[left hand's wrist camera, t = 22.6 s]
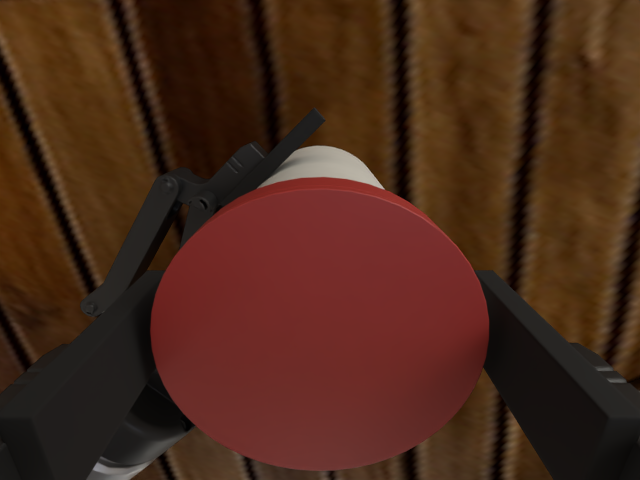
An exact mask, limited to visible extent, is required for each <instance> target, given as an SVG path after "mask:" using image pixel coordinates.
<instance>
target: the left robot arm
mask: <svg viewBox="0 0 640 480" xmlns="http://www.w3.org/2000/svg"><path fill="white" fill-rule="evenodd" d="M164 272H165V271H146V272H145V273H144V274H143V275H142V276H141V277H140V278H139V279H138V280H137V281H136V282H135V283H134V284H133V285H132V286H131V287H129V288H128V289H127V290H126V291H125V292H124V293H123V294H122V295H121V296H120V297H119V298H118V299H117V300H116V301H115V302H114V303H113V304H112V305H111V306H109V307H108V308H107V309H106V310H105V311H104V312H103V313H102V314H101V315H100V316H99V317H98V318H97V319H96V320H95V321H94V322H93V323H92V324H91V325H89V326H88V327H87V328H86V329H85V330H84V331H83V332H82V333H81V334H80V335H79V336H78V337H77V338H76V339H75V340H74V341H73V342H72V343H71V344H62V345H60V346H59V347H57V348H55V349H53V350H52V351H50V352H48V353H47V354H45V355H43V356H42V357H41V358H40V359H39V360H37V361H36V362H35V363H34V364H33V365H32V366H31V367H30V368H29V369H27V372H24V373H23V374H22V375H21V376H20V377H18V378H17V379H16V380H15V381H14V384H11V385H10V386H8V387H7V388H6V389H5V390H4V391H3V392H2V393H1V394H0V480H86V479H87V478H88V476H89V475H90V473H91V471H92V470H93V468H94V467H95V465H96V463H97V462H98V460H99V459H100V457H101V455H102V454H103V452H104V451H105V449H106V447H107V446H108V444H109V443H110V441H111V439H112V438H113V436H114V435H115V433H116V431H117V430H118V428H119V427H120V425H121V423H122V422H123V420H124V419H125V417H126V415H127V414H128V412H129V411H130V409H131V407H132V406H133V404H134V403H135V401H136V400H137V398H138V396H139V395H140V393H141V392H142V390H143V388H144V387H145V385H146V384H147V382H148V380H149V379H150V377H151V376H152V374H153V372H154V371H155V369H156V364H155V360H154V356H153V352H152V346H151V335H150V326H151V311H152V307H153V303H154V299H155V294H156V291H157V289H158V286H159V284H160V281H161V279H162V277H163V274H164ZM474 272H475V274H476V276H477V278H478V280H479V282H480V285H481V288H482V291H483V294H484V297H485V300H486V305H487V311H488V317H489V342H488V348H487V354H486V359H485V362H484V365H483V368H484V369H485V371H486V372H487V374H488V376H489V377H490V379H491V380H492V382H493V384H494V385H495V387H496V388H497V390H498V392H499V393H500V395H501V396H502V398H503V400H504V401H505V403H506V404H507V406H508V407H509V409H510V411H511V412H512V414H513V415H514V417H515V419H516V420H517V422H518V423H519V425H520V427H521V428H522V430H523V431H524V433H525V435H526V436H527V438H528V439H529V441H530V443H531V444H532V446H533V447H534V449H535V451H536V452H537V454H538V455H539V457H540V459H541V460H542V462H543V463H544V465H545V467H546V468H547V470H548V471H549V473H550V475H551V476H552V478H553V479H554V480H640V379H638V380H635V381H633V382H631V383H627V382H626V379H625V378H623V377H622V376H621V375H620V374H619V373H618V372H617V371H614V370H613V368H612V367H611V366H610V365H609V364H608V363H607V362H606V361H604V360H603V359H602V358H601V357H600V356H599V355H598V354H596V353H594V352H592V351H591V350H589V349H587V348H586V347H584V346H582V345H580V344H579V343H568V342H567V341H566V340H565V339H564V338H563V337H562V336H561V335H560V334H559V333H558V332H557V331H556V330H555V329H554V328H553V327H552V326H551V325H549V324H548V323H547V322H546V321H545V320H544V319H543V318H542V317H541V316H540V315H539V314H538V313H537V312H536V311H535V310H534V309H533V308H532V307H531V306H529V305H528V304H527V303H526V302H525V301H524V300H523V299H522V298H521V297H520V296H519V295H518V294H517V293H516V292H515V291H514V290H513V289H512V288H511V287H509V286H508V285H507V284H506V283H505V282H504V281H503V280H502V279H501V278H500V277H499V276H498V275H497V274H496V273H495V272H494V271H474Z"/></svg>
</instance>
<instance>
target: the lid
mask: <svg viewBox="0 0 640 480" xmlns="http://www.w3.org/2000/svg"><path fill="white" fill-rule="evenodd" d="M150 335H151V346H152V352H153V356H154V360H155V364H156V368H157V370H158V373H159V375H160V377H161V380H162V382H163V384H164V386H165V388H166V390H167V391H168V393H169V395H170V396H171V398H172V400H173V401H174V402H175V403H176V405H177V406H178V407H179V409H180V410H181V411H182V412H183V414H184V415H185V416H186V417H187V418H188V419H189V420H190V421H191V422H192V423H193V424H194V425H195V426H196V427H198V428H199V429H200V430H202V431H203V432H204V433H205V434H207V435H208V436H209V437H210V438H212V439H214V440H215V441H217V442H218V443H220V444H222V445H223V446H225V447H227V448H229V449H231V450H233V451H235V452H237V453H239V454H241V455H243V456H246V457H249V458H251V459H254V460H257V461H260V462H263V463H267V464H271V465H275V466H279V467H285V468H291V469H298V470H313V471H323V470H340V469H349V468H355V467H360V466H365V465H369V464H373V463H376V462H379V461H383V460H386V459H389V458H391V457H394V456H396V455H398V454H400V453H403V452H405V451H407V450H409V449H411V448H413V447H414V446H416V445H418V444H420V443H421V442H423V441H424V440H426V439H427V438H429V437H430V436H431V435H433V434H434V433H436V432H437V431H438V430H439V429H440V428H442V427H443V426H444V425H445V424H446V423H447V422H448V421H449V420H450V419H451V418H452V417H453V416H454V415H455V414H456V413H457V412H458V410H459V409H460V408H461V407H462V406H463V404H464V403H465V401H466V400H467V398H468V397H469V395H470V394H471V392H472V391H473V389H474V387H475V385H476V383H477V381H478V379H479V377H480V375H481V371H482V368H483V365H484V362H485V359H486V354H487V348H488V342H489V317H488V311H487V305H486V300H485V297H484V294H483V291H482V288H481V285H480V282H479V280H478V278H477V276H476V274H475V272H474V270H473V268H472V267H471V265H470V263H469V262H468V260H467V259H466V258H465V256H464V255H463V254H462V252H461V251H460V250H459V248H458V247H457V246H456V245H455V244H454V243H453V242H452V241H451V240H450V239H449V238H448V236H447V235H446V234H445V233H444V232H443V231H442V230H441V229H440V228H439V227H438V226H437V225H436V224H435V223H434V222H433V221H432V220H431V219H430V218H429V217H428V216H427V215H425V214H424V213H423V212H422V211H420V210H419V209H417V208H416V207H415V206H413V205H412V204H411V203H409V202H408V201H406V200H404V199H402V198H400V197H399V196H397V195H395V194H393V193H391V192H389V191H386V190H384V189H381V188H378V187H376V186H373V185H370V184H367V183H363V182H358V181H354V180H349V179H342V178H331V177H308V178H297V179H291V180H286V181H280V182H276V183H273V184H270V185H267V186H264V187H260V188H258V189H255V190H253V191H251V192H249V193H247V194H245V195H243V196H240V197H238V198H237V199H235V200H234V201H232V202H231V203H229V204H228V205H226V206H225V207H223V208H221V209H220V210H219V211H218V212H217V213H216V214H214V215H213V216H212V217H211V218H210V219H209V220H208V221H206V222H205V223H204V224H203V225H202V226H201V227H200V228H199V229H198V230H197V231H196V232H195V234H194V235H193V236H192V237H191V238H190V239H189V240H188V241H187V242H186V243H185V244H184V246H183V247H182V248H181V249H180V250H179V251H178V253H177V254H176V255H175V256H174V258H173V259H172V261H171V263H170V264H169V266H168V268H167V269H166V271H165V272H164V274H163V277H162V279H161V281H160V284H159V286H158V289H157V291H156V294H155V299H154V303H153V307H152V311H151V326H150Z"/></svg>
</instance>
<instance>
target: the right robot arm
mask: <svg viewBox="0 0 640 480" xmlns="http://www.w3.org/2000/svg"><path fill="white" fill-rule="evenodd" d="M323 122H325V118H324V117H323V116H322V115H321V114H320V113H319V112H318V111H317V109H316V108H313V109H312V110H311V111H310V112H309V113H308V114H307V116H306V117H305V118H304V119H303V120H302V121H301V122H300V123H299V124H298V125H297V126H296V127H295V128H294V129H293V130H292V131H291V132H290V133H289V134H288V135H287V136H286V137H285V138H284V139H283V140H282V141H281V142H280V143H279V144H278V145H277V146H276V147H275V148H274V149H273V150H272V151H271V152H270V153H269V154H268V153H267V152H266V151H265V150H264V149H263V148H262V147H261V146H260V145H259V144H258V143H257V142H256V141H254V142H251V143H249V144H247V145H244V146H243V147H241V148H240V149H239V150H238V151H237V152H236V153H235V154H234V155H233V156H232V157H231V158H230V159H229V160H228V161H227V162H226V163H225V164H224V165H223V166H222V167H221V169H220V170H219V171H218V172H217V173H216V174H215V175H214V176H213V177H212V178H211V179H203V178H201V177H198V176H196V175H194V174H193V173H192V171H191V170H189V169H188V168H185V167H180V168H178V169H175V170H173V171H170V172H168V173H166V174H164V175H162V176H159V177H158V178H157V179H156V180H155V182H154V184H153V186H152V188H151V190H150V192H149V194H148V196H147V198H146V200H145V202H144V204H143V206H142V208H141V210H140V212H139V214H138V216H137V218H136V220H135V221H134V223H133V225H132V227H131V229H130V231H129V233H128V235H127V237H126V239H125V241H124V243H123V245H122V247H121V249H120V251H119V253H118V255H117V257H116V259H115V261H114V263H113V265H112V267H111V269H110V271H109V273H108V275H107V277H106V279H105V281H104V283H103V284H102V285H101V286H99V287H98V288H97V289H96V290H94V291H93V292H92V293H91V294H89V295H88V296H87V297H86V298H85V299H83V300H82V302H81V304H80V307H81V310H82V311H83V312H84V313H85V314H86V315H88V316H92V317H94V316H98V315H100V314H101V313H103V312H104V311H105V310H106V309H107V308H108V307H109V306H111V305H112V304H113V303H114V302H115V301H116V300H117V299H118V298H119V297H120V296H121V295H122V294H123V293H124V292H125V291H126V290H127V289H128V288H129V287H131V286H132V285H133V284H134V283H135V282H136V281H137V280H138V279H139V278H140V277H141V276H142V275H143V274H144V273H145V272H146V271H147V269H148V267H149V265H150V263H151V262H152V260H153V258H154V256H155V254H156V252H157V251H158V249H159V247H160V245H161V243H162V241H163V239H164V238H165V236H166V234H167V232H168V230H169V228H170V227H171V225H172V223H173V221H174V219H175V217H176V216H177V214H178V212H179V210H180V208H181V206H182V205H183V203H184V204H186V205H189V206H190V207H189V211H188V215H187V219H186V224H185V228H184V232H183V236H182V240H181V245H180V249H181V248H182V247H183V246H184V244H185V243H186V242H187V241H188V240H189V239H190V238H191V237H192V236H193V235H194V234H195V232H196V231H197V230H198V229H199V228H200V227H201V226H202V225H203V224H204V223H205V222H206V221H208V220H209V219H210V218H211V217H212V216H213V215H214V214H216V213H217V212H218V211H219V210H220V209H221V208H223V207H225V206H226V205H228V204H229V203H231V202H232V201H234V200H235V199H237V198H238V197H240V196H243V195H245V194H247V193H249V192H251V191H253V190H255V189H257V188H258V187H259V186H260V185H261V184H262V183H263V182H264V181H265V180H266V179H267V178H268V177H269V176H270V175H271V174H272V173H273V172H274V171H275V170H276V169H277V168H278V167H279V166H280V165H281V164H282V163H283V162H284V161H285V160H286V159H287V158H288V157H289V156H290V155H291V154H292V153H293V152H294V151H295V150H296V149H297V148H298V147H299V146H300V145H301V144H302V143H303V142H304V141H305V140H306V139H307V138H308V137H309V136H310V135H311V134H312V133H313V132H314V131H315V130H316V129H317V128H318V127H319V126H320V125H321V124H322V123H323ZM180 249H179V250H180ZM195 427H196V426H195V425H194V424H193V423H192V422H191V421H190V420H189V419H188V418H187V417H186V416H185V415H184V414H183V412H182V411H181V410H180V409H179V407H178V406H177V405H176V403H175V402H174V401H173V400H172V398H171V396H170V395H169V393H168V391H167V390H166V388H165V386H164V384H163V382H162V380H161V377H160V375H159V373H158V370H157V368H156V369H155V371H154V372H153V374H152V376H151V377H150V379H149V380H148V382H147V384H146V385H145V387H144V388H143V390H142V392H141V393H140V395H139V396H138V398H137V400H136V401H135V403H134V404H133V406H132V407H131V409H130V411H129V412H128V414H127V415H126V417H125V419H124V420H123V422H122V423H121V425H120V427H119V428H118V430H117V431H116V433H115V435H114V436H113V438H112V439H111V441H110V443H109V444H108V446H107V447H106V449H105V451H104V452H103V454H102V455H101V457H100V459H99V460H98V462H97V463H96V465H95V467H94V468H93V470H92V471H91V473H90V475H89V476H88V478H87V479H86V480H130V479H131V478H132V477H134V476H135V475H136V474H138V473H139V472H140V471H142V470H143V469H144V468H146V467H147V466H148V465H149V464H151V463H152V462H153V461H154V460H155V459H156V458H157V457H158V456H160V455H161V454H163V453H164V452H165V451H166V450H168V449H169V448H170V447H171V446H173V445H174V444H175V443H176V442H178V441H179V440H180V439H182V438H183V437H184V436H185V435H187V434H188V433H189V432H190V431H191V430H193V429H194V428H195Z"/></svg>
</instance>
